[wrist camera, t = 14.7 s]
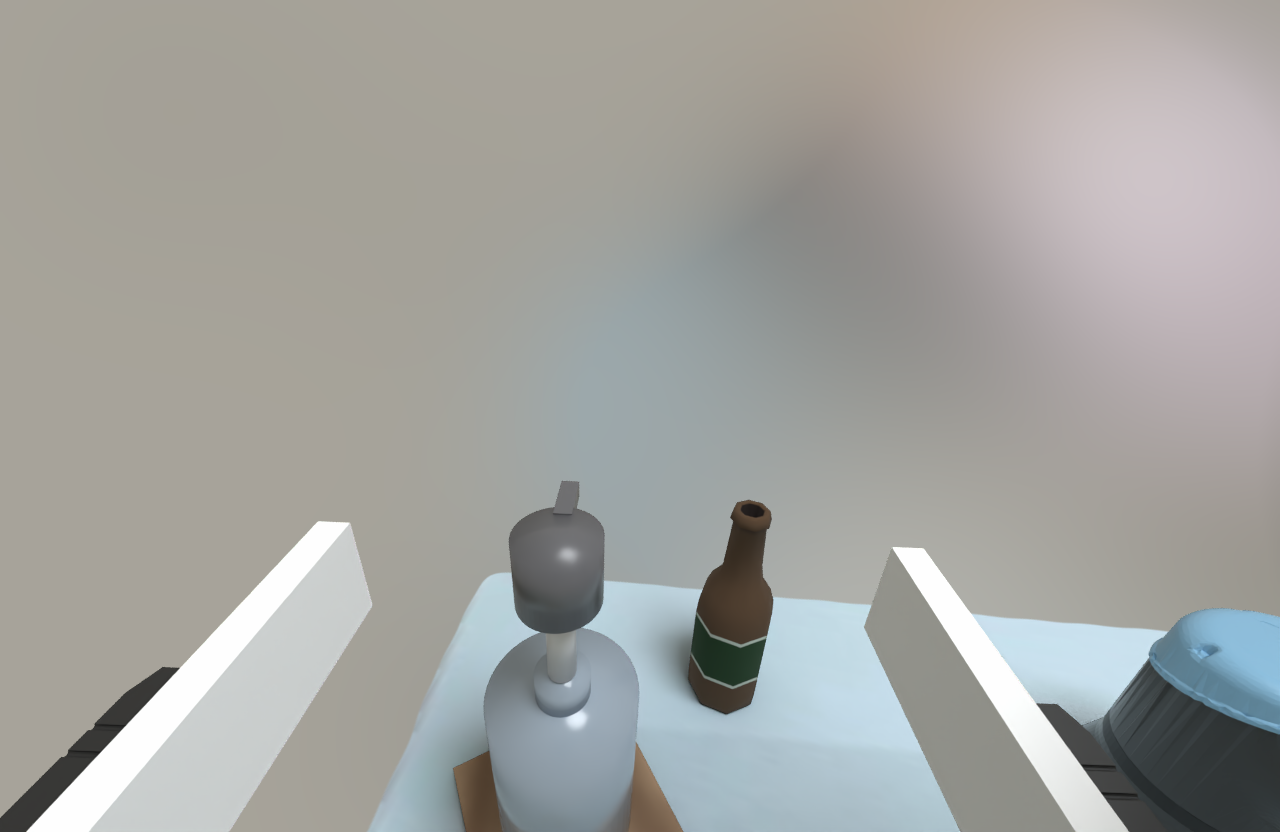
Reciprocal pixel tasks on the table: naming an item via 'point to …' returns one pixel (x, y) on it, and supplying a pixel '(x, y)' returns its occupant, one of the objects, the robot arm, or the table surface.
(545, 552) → the pump plunger
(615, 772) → the soap dispenser
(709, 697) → the beer bottle
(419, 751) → the table surface
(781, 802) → the table surface
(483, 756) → the walnut board
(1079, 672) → the table surface
